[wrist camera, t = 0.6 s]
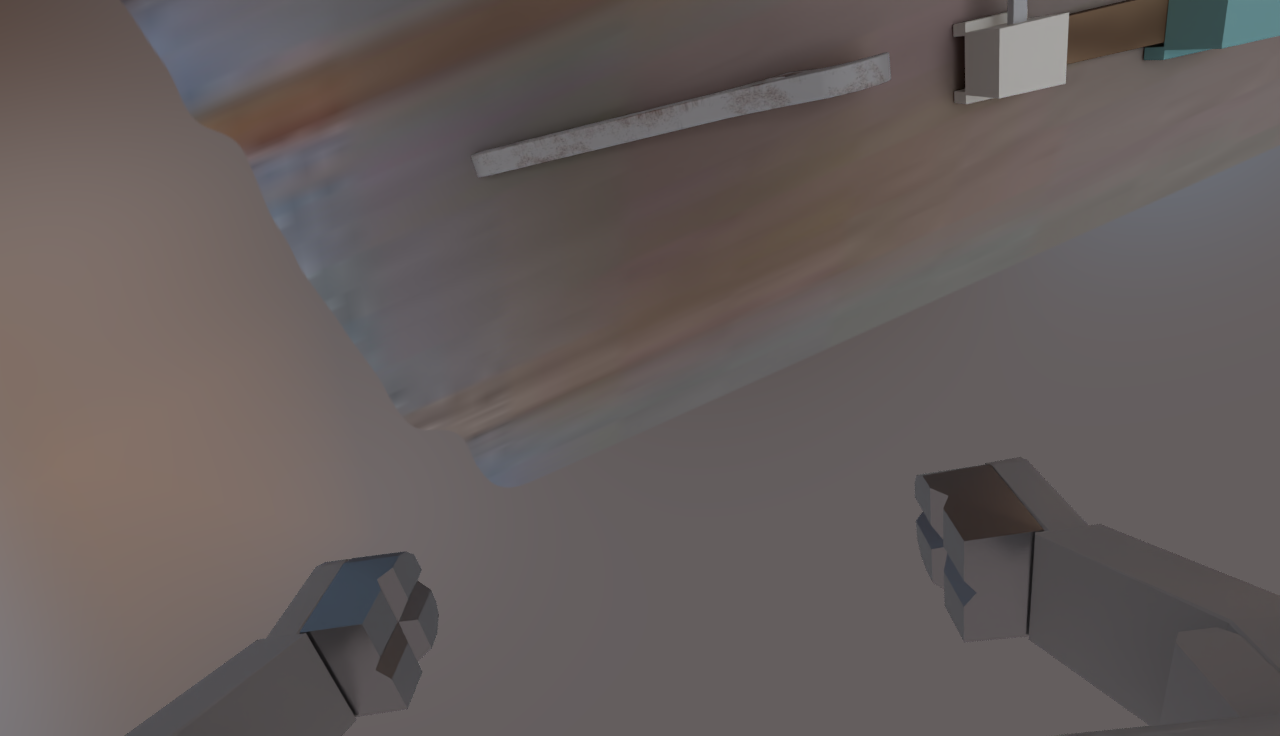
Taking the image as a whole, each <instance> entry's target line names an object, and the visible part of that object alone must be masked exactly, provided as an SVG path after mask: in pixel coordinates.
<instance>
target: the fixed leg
mask: <svg viewBox="0 0 1280 736" xmlns="http://www.w3.org/2000/svg"><path fill="white" fill-rule="evenodd" d="M1027 9H1028V8H1027V0H1008V6H1007V12H1003V13H999V14H995V15H991V16H987V17H982V18H978V19H974V20H970V21H966V22H962V23H957V24H953V37H959V36H965V89H962V90H957V91H954V103H960V104H969V103H974V102H978V101H983V100H987V99H992V98H1003V97H1008V96H1012V95H1017V94H1021V93H1026V92H1030V91H1035V90H1039V89H1044V88H1048V87H1052V86H1057V85H1061V84H1066V65H1067V46H1068V26H1069V13H1061V14H1053V15H1046V16H1038V17H1030V18H1027Z"/></svg>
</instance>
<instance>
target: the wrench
mask: <svg viewBox="0 0 1280 736" xmlns="http://www.w3.org/2000/svg"><path fill="white" fill-rule="evenodd" d="M889 80H891V72H890V57H889V52H886V53H882V54H878V55H874V56H871V57H867V58H863V59H860V60H856V61H853V62H849V63H844V64H840V65H835V66H830V67H825V68H820V69H812V70H804V71H796V72H788V73H784V74H781V75H778V76H775V77H772V78H768V79H765V80H761V81H758V82H754V83H751V84H747V85H743V86H740V87H736V88H732V89H729V90H725V91H721V92H717V93H713V94H709V95H705V96H701V97H697V98H693V99H689V100H685V101H681V102H677V103H673V104H669V105H665V106H661V107H657V108H653V109H649V110H645V111H641V112H637V113H633V114H629V115H625V116H621V117H617V118H613V119H609V120H605V121H601V122H596V123H592V124H588V125H584V126H580V127H576V128H572V129H568V130H564V131H560V132H556V133H552V134H548V135H544V136H540V137H536V138H532V139H528V140H524V141H520V142H516V143H512V144H508V145H504V146H500V147H497V148H494V149H489V150H485V151H481V152H478V153H475V154H472V155H471V159H472V162H473V165H474V168H475V170H476V173H477V176H478V177H485V176H490V175H494V174H498V173H502V172H506V171H510V170H515V169H519V168H523V167H527V166H531V165H535V164H540V163H544V162H548V161H552V160H556V159H560V158H565V157H569V156H573V155H577V154H581V153H585V152H590V151H594V150H598V149H602V148H606V147H610V146H615V145H619V144H623V143H627V142H631V141H635V140H640V139H644V138H648V137H652V136H656V135H660V134H665V133H669V132H673V131H677V130H681V129H685V128H690V127H694V126H698V125H702V124H706V123H710V122H715V121H719V120H723V119H727V118H732V117H736V116H741V115H746V114H751V113H756V112H760V111H765V110H770V109H775V108H780V107H785V106H790V105H796V104H801V103H806V102H811V101H816V100H822V99H827V98H831V97H836V96H840V95H844V94H848V93H852V92H856V91H860V90H864V89H867V88H870V87H874V86H877V85H880V84H883V83H885V82H887V81H889Z"/></svg>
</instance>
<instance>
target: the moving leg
mask: <svg viewBox="0 0 1280 736" xmlns="http://www.w3.org/2000/svg"><path fill="white" fill-rule="evenodd" d="M1275 36H1280V0H1169V5H1168V14H1167V23H1166V33H1165V42H1164V44H1159V45H1155V46H1151V47H1146V48H1145V52H1144V60H1165V59H1170V58H1174V57H1179V56H1183V55H1187V54H1192V53H1196V52H1201V51H1205V50H1210V49H1222V48H1226V47H1231V46H1235V45H1240V44H1244V43H1248V42H1253V41H1257V40H1262V39H1266V38H1271V37H1275Z"/></svg>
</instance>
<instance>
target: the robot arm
mask: <svg viewBox="0 0 1280 736" xmlns="http://www.w3.org/2000/svg"><path fill="white" fill-rule="evenodd" d="M915 498H916V500H917V501H918V503H919V505H920V507H921V509H922V510H923V512H922V514H921V515H920V516H919V517H918V519H917V520H916V527H917V539H918V544H919V549H920V553H921V557H922V560H923V562H924V565H925V568H926V570H927V572H928V574H929V576H930V578H931V580H932V582H933V583H934V584H936V585H938V586H940V587H941V588H943V589H944V598H945V607H946V609H947V611H948V613H949V615H950V617H951V618H952V620H953V622H954V624H955V626H956V628H957V630H958V632H959V633H960V635H961V637H962V639H963V641H964V642H973V641H983V640H994V639H1005V638H1016V637H1026V636H1029V640H1030V641H1032V642H1033V643H1035V644H1036V645H1037V646H1039V647H1040V648H1042V649H1043V650H1045V651H1046V652H1047V653H1049V654H1050V655H1051V656H1053V657H1054V658H1056V659H1057V660H1058V661H1060V662H1061V663H1063V664H1064V665H1065V666H1067V667H1068V668H1070V669H1071V670H1072V671H1074V672H1075V673H1077V674H1078V675H1079V676H1081V677H1082V678H1084V679H1085V680H1086V681H1088V682H1089V683H1091V684H1092V685H1093V686H1095V687H1096V688H1098V689H1099V690H1101V691H1102V692H1103V693H1105V694H1106V695H1107V696H1109V697H1110V698H1112V699H1113V700H1114V701H1116V702H1117V703H1119V704H1120V705H1122V706H1123V707H1124V708H1126V709H1127V710H1128V711H1130V712H1131V713H1133V714H1134V715H1136V716H1137V717H1138V718H1140V719H1141V720H1143V721H1144V722H1145V723H1147V724H1148V725H1149V726H1143V727H1133V728H1124V729H1114V730H1104V731H1095V732H1085V733H1075V734H1065V735H1055V736H1280V596H1279V595H1277V594H1274V593H1271V592H1269V591H1267V590H1264V589H1262V588H1259V587H1256V586H1254V585H1252V584H1249V583H1247V582H1244V581H1242V580H1239V579H1237V578H1234V577H1232V576H1229V575H1227V574H1224V573H1222V572H1219V571H1217V570H1214V569H1212V568H1209V567H1207V566H1204V565H1202V564H1199V563H1197V562H1194V561H1191V560H1189V559H1186V558H1184V557H1182V556H1179V555H1177V554H1174V553H1171V552H1169V551H1167V550H1164V549H1162V548H1159V547H1157V546H1154V545H1151V544H1149V543H1146V542H1144V541H1141V540H1139V539H1137V538H1134V537H1132V536H1129V535H1126V534H1124V533H1122V532H1119V531H1117V530H1114V529H1112V528H1109V527H1106V526H1104V525H1102V524H1096V525H1088V524H1087V523H1086V522H1085V521H1084V520H1083V519H1082V518H1081V516H1079V514H1078V513H1077V512H1076V511H1075V510H1074V509H1073V508H1072V507H1071V506H1070V505H1069V504H1068V503H1067V502H1066V501H1065V500H1064V498H1063V497H1062V496H1061V495H1060V494H1059V493H1058V492H1057V491H1056V490H1055V489H1054V488H1053V487H1052V486H1051V485H1050V484H1049V482H1048V481H1046V480H1045V478H1044V477H1043V476H1042V475H1041V474H1040V473H1039V472H1038V471H1037V470H1036V469H1035V468H1034V467H1033V465H1032V464H1030V462H1029V461H1028V460H1026V459H1024V458H1021V457H1017V458H1012V459H1006V460H1000V461H995V462H990V463H985V465H978V466H972V467H965V468H959V469H952V470H946V471H939V472H933V473H926V474H920V475H917V476H916V480H915ZM420 573H421V567H420V565H419V564H418V562H417V560H416V558H415V556H414V554H411V553H408V552H398V553H390V554H382V555H375V556H366V557H359V558H352V559H345V560H338V561H331V562H325V563H323V564H321V565H319V566H317V567H316V568H315V569H314V570H313V572H312V573H311V575H310V576H309V578H308V579H307V580H306V582H305V583H304V585H303V586H302V588H301V589H300V590H299V592H298V593H297V595H296V596H295V598H294V599H293V601H292V602H291V603H290V605H289V606H288V608H287V609H286V610H285V612H284V613H283V615H282V616H281V618H280V619H279V621H278V622H277V623H276V625H275V626H274V628H273V629H272V631H271V632H270V634H269V635H268V637H267V638H266V639H260V640H256V641H255V642H253V643H252V644H251V645H249V646H248V647H246V648H245V649H244V650H242V651H241V652H240V653H238V654H237V655H235V656H234V657H233V658H231V659H230V660H229V661H227V662H226V663H224V664H223V665H222V666H220V667H219V668H217V669H216V670H215V671H213V672H212V673H211V674H209V675H208V676H206V677H205V678H204V679H202V680H201V681H199V682H198V683H197V684H195V685H194V686H192V687H191V688H190V689H188V690H187V691H186V692H184V693H183V694H181V695H180V696H179V697H177V698H176V699H175V700H173V701H172V702H170V703H169V704H168V705H166V706H165V707H163V708H162V709H161V710H159V711H158V712H157V713H155V714H154V715H152V716H151V717H150V718H148V719H147V720H145V721H144V722H143V723H141V724H140V725H139V726H137V727H136V728H134V729H133V730H132V731H131V732H129V733H127V734H126V735H125V736H342V735H343V734H344V733H345V732H346V731H347V730H348V729H349V728H350V726H351V725H352V724H353V723H354V722H355V721H356V717H358V716H365V715H372V714H378V713H385V712H392V711H397V710H404V709H408V706H409V704H410V702H411V699H412V697H413V694H414V692H415V689H416V686H417V684H418V681H419V679H420V677H421V674H422V670H421V668H420V665H419V663H418V661H419V660H420V659H421V658H422V657H423V656H424V655H425V654H426V653H427V652H428V651H429V650H430V649H432V646H433V643H434V640H435V638H436V635H437V629H438V617H439V614H438V609H437V605H436V600H435V598H434V596H433V593H432V591H431V590H430V589H429V588H427V587H426V586H424V585H423V584H421V583H420V582H419V581H418V578H419V575H420Z"/></svg>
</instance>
